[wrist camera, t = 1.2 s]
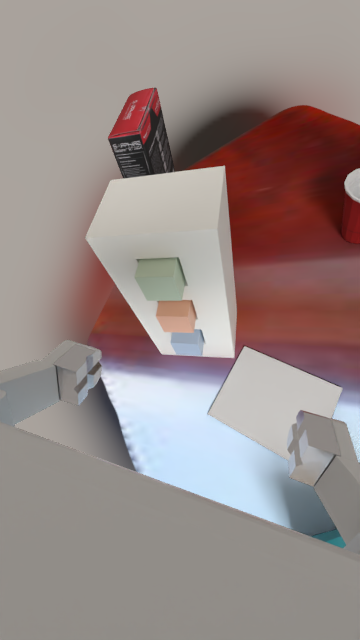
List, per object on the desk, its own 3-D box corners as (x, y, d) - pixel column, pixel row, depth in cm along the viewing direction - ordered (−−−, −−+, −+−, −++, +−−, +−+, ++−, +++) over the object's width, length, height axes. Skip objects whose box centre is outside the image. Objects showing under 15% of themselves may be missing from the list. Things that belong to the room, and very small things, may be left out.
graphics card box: (161, 207, 79) (124, 92, 56) (185, 204, 77) (157, 85, 54) (150, 251, 70) (102, 137, 48) (177, 249, 68) (140, 130, 46)
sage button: (155, 269, 36) (144, 244, 33) (187, 268, 35) (180, 242, 31) (147, 300, 34) (134, 277, 30) (182, 300, 33) (173, 276, 29)
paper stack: (265, 308, 55) (265, 306, 54) (416, 362, 44) (418, 360, 44) (208, 414, 47) (207, 413, 46) (376, 512, 36) (378, 512, 35)
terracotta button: (170, 303, 43) (162, 286, 39) (197, 303, 42) (192, 285, 38) (164, 332, 40) (155, 316, 37) (193, 333, 39) (187, 316, 36)
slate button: (181, 328, 50) (175, 315, 46) (205, 329, 48) (201, 316, 45) (176, 354, 47) (170, 343, 43) (202, 355, 46) (197, 344, 42)
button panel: (170, 311, 59) (110, 180, 34) (236, 311, 56) (224, 165, 31) (161, 354, 54) (85, 237, 29) (234, 358, 51) (217, 228, 26)
